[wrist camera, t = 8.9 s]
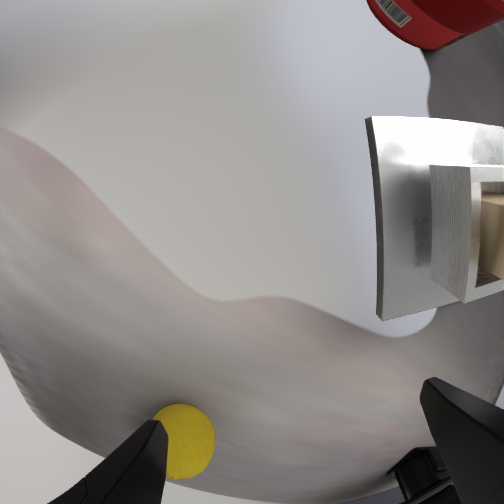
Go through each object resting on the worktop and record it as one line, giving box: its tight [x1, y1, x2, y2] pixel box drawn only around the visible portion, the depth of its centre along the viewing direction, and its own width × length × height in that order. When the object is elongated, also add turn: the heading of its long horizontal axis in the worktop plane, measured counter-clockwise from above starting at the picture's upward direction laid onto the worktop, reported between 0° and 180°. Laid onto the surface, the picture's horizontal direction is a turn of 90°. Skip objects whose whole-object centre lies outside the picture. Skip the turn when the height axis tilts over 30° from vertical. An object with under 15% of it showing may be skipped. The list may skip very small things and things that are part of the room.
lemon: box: [153, 404, 215, 480], centre depth 19 cm, size 6×6×8 cm
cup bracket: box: [365, 116, 504, 321], centre depth 15 cm, size 14×14×6 cm
